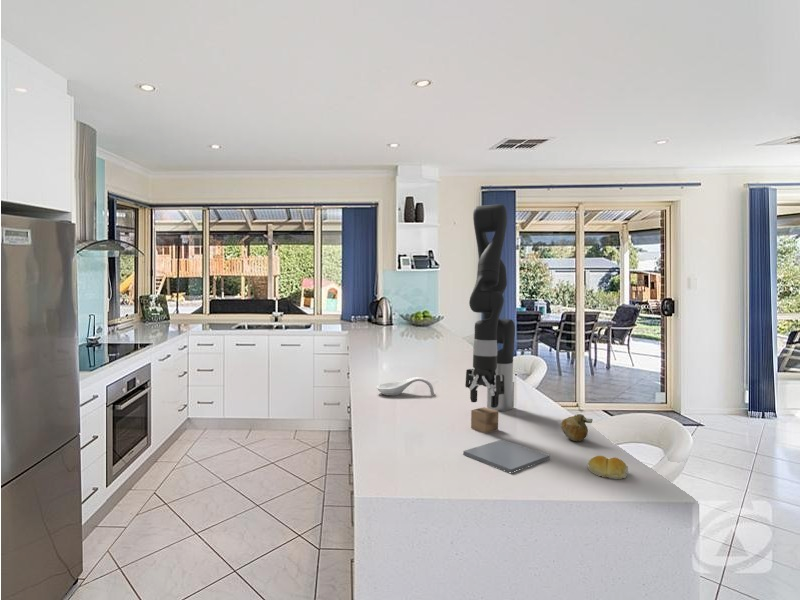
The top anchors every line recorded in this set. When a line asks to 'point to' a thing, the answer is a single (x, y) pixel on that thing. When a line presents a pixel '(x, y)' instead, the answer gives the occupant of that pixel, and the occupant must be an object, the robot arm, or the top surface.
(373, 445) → the top surface
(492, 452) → the slate plate
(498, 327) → the robot arm
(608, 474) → the bread roll
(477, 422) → the walnut block
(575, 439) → the onion
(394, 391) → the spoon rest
